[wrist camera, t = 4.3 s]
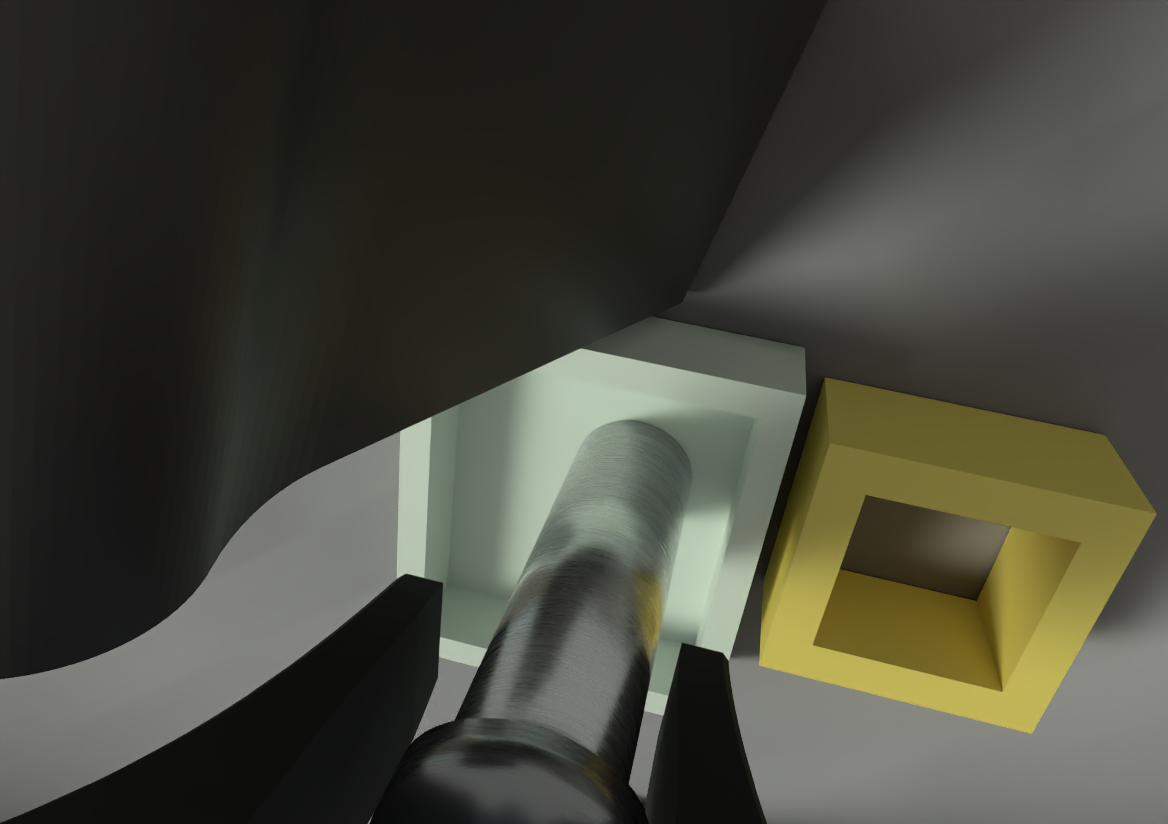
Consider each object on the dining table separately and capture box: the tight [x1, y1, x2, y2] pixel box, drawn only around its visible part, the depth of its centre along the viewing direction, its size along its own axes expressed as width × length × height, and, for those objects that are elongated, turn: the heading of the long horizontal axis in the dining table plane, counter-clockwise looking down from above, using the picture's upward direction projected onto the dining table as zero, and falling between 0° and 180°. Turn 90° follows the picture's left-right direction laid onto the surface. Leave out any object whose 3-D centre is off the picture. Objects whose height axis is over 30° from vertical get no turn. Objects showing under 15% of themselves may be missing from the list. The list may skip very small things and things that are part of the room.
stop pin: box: [370, 420, 692, 824], centre depth 13 cm, size 3×3×9 cm
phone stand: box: [0, 0, 827, 679], centre depth 9 cm, size 9×6×12 cm, turn 69°
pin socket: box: [759, 377, 1157, 734], centre depth 16 cm, size 5×5×2 cm
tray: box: [397, 316, 806, 716], centre depth 17 cm, size 8×7×2 cm
